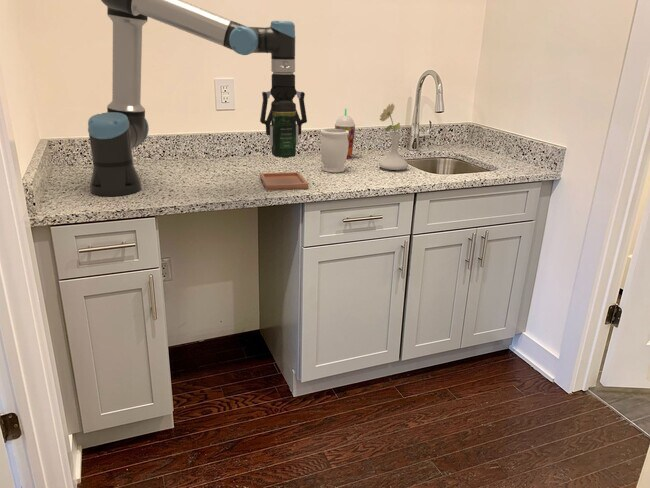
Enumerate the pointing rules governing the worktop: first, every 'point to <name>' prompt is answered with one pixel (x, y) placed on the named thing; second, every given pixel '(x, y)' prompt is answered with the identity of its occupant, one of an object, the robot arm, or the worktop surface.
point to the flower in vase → (392, 159)
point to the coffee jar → (284, 128)
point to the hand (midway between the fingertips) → (283, 144)
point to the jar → (334, 149)
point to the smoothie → (348, 125)
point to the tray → (283, 181)
